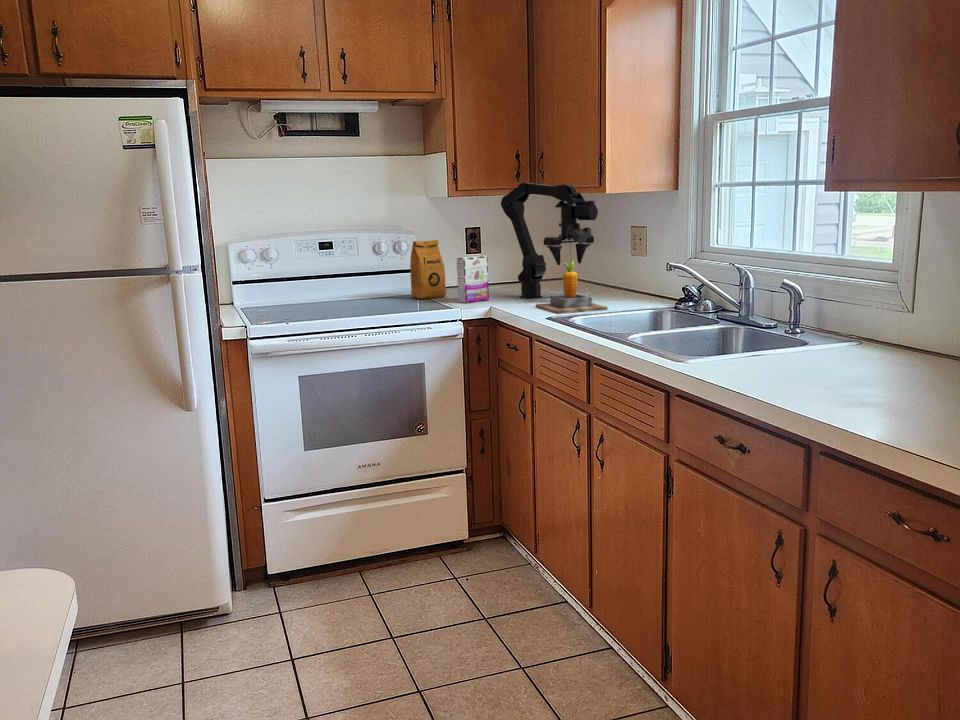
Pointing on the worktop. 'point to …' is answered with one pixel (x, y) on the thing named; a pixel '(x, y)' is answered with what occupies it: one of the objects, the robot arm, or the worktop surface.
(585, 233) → the robot arm
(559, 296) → the socket base
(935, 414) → the worktop surface
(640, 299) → the worktop surface
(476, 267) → the candy bar box
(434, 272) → the coffee package
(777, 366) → the worktop surface
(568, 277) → the carrot
